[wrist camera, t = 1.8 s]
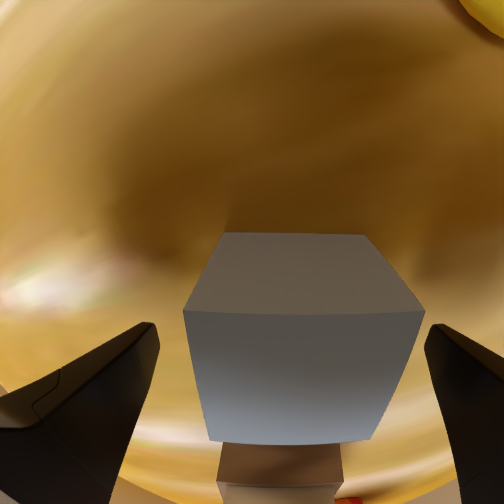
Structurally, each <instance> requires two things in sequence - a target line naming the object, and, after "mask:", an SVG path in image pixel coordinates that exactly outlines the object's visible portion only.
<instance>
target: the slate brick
mask: <svg viewBox="0 0 504 504" xmlns="http://www.w3.org/2000/svg"><path fill="white" fill-rule="evenodd" d="M183 314H184V320H185V326H186V332H187V338H188V343H189V349H190V354H191V359H192V364H193V369H194V374H195V379H196V384H197V389H198V393H199V398H200V402H201V406H202V411H203V415H204V419H205V423H206V427H207V431H208V435H209V439H210V441H219V442H230V443H242V444H260V445H312V444H330V443H342V442H352V441H361V440H368V439H370V438H371V437H372V435H373V433H374V431H375V429H376V427H377V426H378V424H379V422H380V420H381V418H382V416H383V414H384V412H385V410H386V408H387V406H388V404H389V402H390V400H391V398H392V396H393V394H394V392H395V389H396V387H397V385H398V383H399V381H400V378H401V376H402V374H403V371H404V369H405V366H406V364H407V362H408V359H409V356H410V354H411V351H412V349H413V346H414V343H415V341H416V338H417V335H418V332H419V329H420V326H421V323H422V320H423V317H424V314H425V309H424V308H423V306H422V305H421V304H420V302H419V301H418V300H417V298H416V297H415V296H414V294H413V293H412V292H411V290H410V289H409V288H408V287H407V285H406V284H405V283H404V281H403V280H402V279H401V278H400V276H399V275H398V274H397V273H396V271H395V270H394V269H393V268H392V266H391V265H390V264H389V263H388V261H387V260H386V259H385V258H384V257H383V255H382V254H381V253H380V252H379V251H378V249H377V248H376V247H375V246H374V245H373V243H372V242H371V241H370V240H369V239H368V238H367V236H366V235H356V234H317V233H257V232H224V233H223V235H222V237H221V238H220V240H219V242H218V244H217V246H216V248H215V250H214V251H213V253H212V255H211V257H210V259H209V261H208V263H207V265H206V266H205V268H204V270H203V272H202V274H201V276H200V278H199V280H198V282H197V284H196V286H195V287H194V289H193V291H192V293H191V295H190V297H189V299H188V301H187V303H186V305H185V307H184V309H183Z"/></svg>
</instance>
